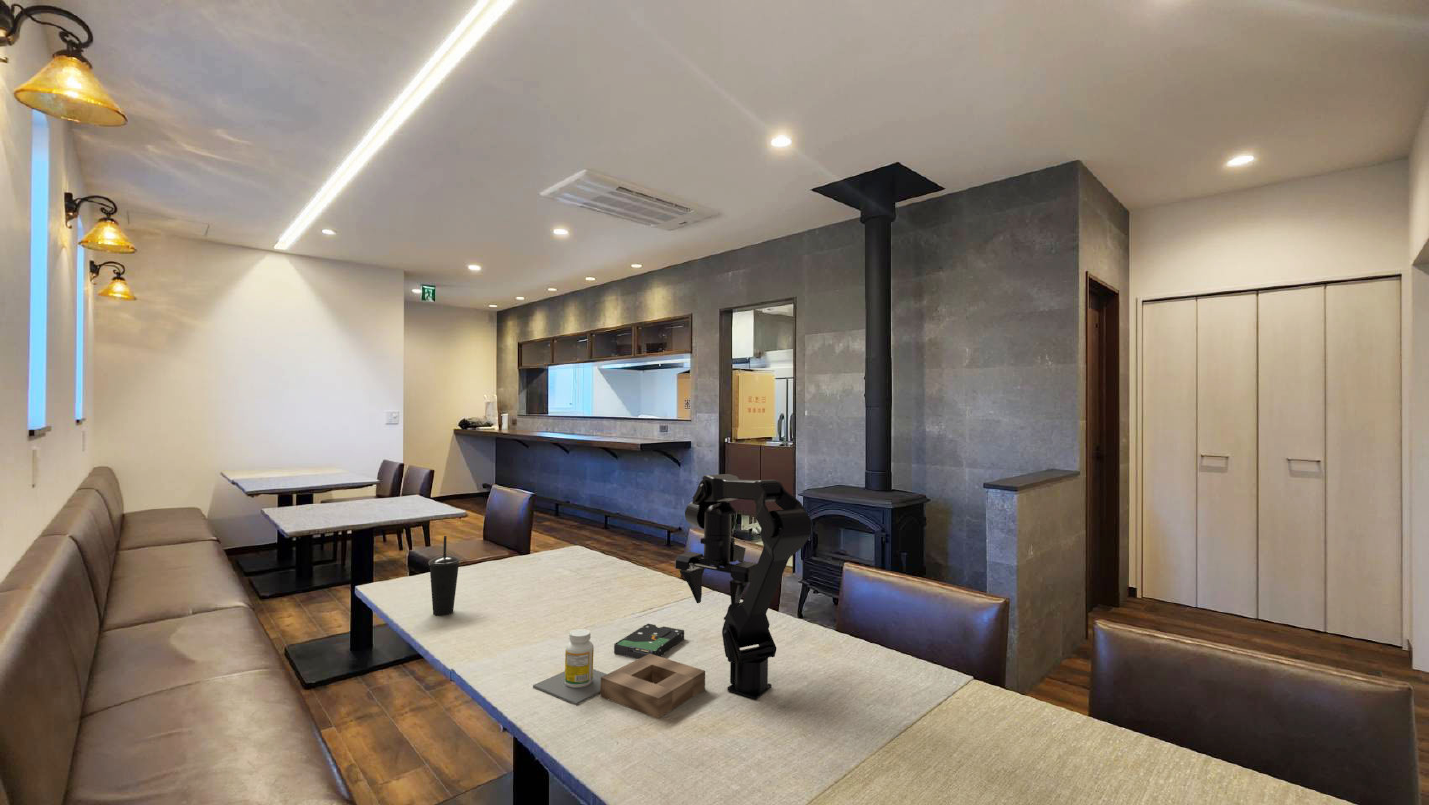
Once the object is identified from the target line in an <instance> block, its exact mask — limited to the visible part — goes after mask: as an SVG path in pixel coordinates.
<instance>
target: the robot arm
mask: <svg viewBox="0 0 1429 805" xmlns="http://www.w3.org/2000/svg"><path fill="white" fill-rule="evenodd" d="M701 479H702V480H701V481H699V484H698V487H697V489H696V492H695V493H694V494H693V496H692V501H691V502H689V504H688V505H686V508H685V511H684V518H685V520H686V522H687V523H688V524H690V525H691V526H694V527H696V528H700V529H703V530H704V532H703V536H704V537H702V538H700V544H703V553H699V552H694V551H693V552H692V551H687V552H685V553H681V554H678V555H677V556H676V558H675V561H674V568H675V569H676V570H679V574H681V575H682V576H683V578H684V579H685V581H686V583H687V585H688V587H689V589H690V591H691V593H692V596H693V598H694V599H695V602H696V603H697V604H701V602H702V595H703V594H702V593H703V592H702V589H703V588H702V586H703V574H704V572H705V570H706V569H707V570H712V571H717V572H721V573H722V572H723V573H728V574H730V577H731V580H729V591H730V593H729V594H730V604H729V605H728V607H727V612H726V614H725V616H724V617H723V620H724V622H723V626H722V629H721V634H722V635H721V636H722V641H723V647H724V648H723V649H724V654H725V655H724V656H725V657H726V658H727V662H729V663H730V665H729V666H730V668H729V669H730V670H729V672H730V673H729V680H730V681H729V684H730V685H729V686H727V689H726V690H727V691H729V692H731V693H733V694H737V695H741V696H743V697H747V698H750V699H753V700H757V699H759V698H760V697H761V696H763V695H764V694H765V693H767V692H768V691H769V690H770V689H772V686H773V685H772V684H771V683H768V682H769V679H768V678H769V658H775V656H776V653H777V646H776V644H775V641H774V638H773V637H772V634H771V632H770V630H769V628H770V622H769V619H768V615H767V612H768V610H769V607H770V606H771V603H772V600H773V598H774V595H775V593H776V590H777V589H778V585H779V583H780V581H781V578H782V576H783V574H784V571H785V570H786V566H787V564H788V562H789V561H790V558H791V557H792V556H794V555H795V554H796V553H798V552H799V551H800V550H801V549H802V548H804V546H805V544H806V543H807V541H808V540H809V538H810V537H811V535H812V532H813V531H812V530H813V522H812V520H811V518H810V516H809V513H807V511H806V509H805V507H804V505H803V504H802V503H801V502H800V500H798V499H797V498H795V496H793V495H792V494H791V493H789V492H788V491H787V490H786V489H785V488H784V486H783V484H782V482H780V481H779V480H777V479H760V480H758V479H757V480H755V479H739V477H738V476H737V475H733V474H730V473H727V474H725V473H723V474H704V475H703V476H702V478H701ZM735 500H746V501H747V500H749V501H750V500H751V501H754V503H755V505H756V508H755V520H756V521H757V523H758V525H759V527H760V531H759V532H760V533H759V535H760V538H761V542H762V545H763V547H762V548H763V549H762V550H761V554H760V556H759V558H758V562H757V563H756V562H751V561H745V560H744V559H745V554H746V550H747V549H746V547H744V546H741V545H739V544H736V542H735V540H736V539H735V537H734V536H732V515H736V512H737V511H736V510H735V508H734V507H733V506H732V505H731V503H730V501H731V502H732V501H735ZM767 502H775V504H776V505H777V506H778V507H779V508H781V509H777V510H776V509H775V510H774V509H773V510H769V508H768V507H767V506H766V503H767ZM737 561H738V563H735V562H737ZM733 563H735V564H733ZM747 586H748V587H747ZM746 588H747V589H746ZM745 590H746V592H745V595H744V591H745ZM743 595H744V597H743ZM742 597H743V599H742ZM741 600H742V601H741ZM756 645H758V646H756ZM751 646H755V647H751ZM746 647H749V648H746ZM743 648H744V649H743Z"/></svg>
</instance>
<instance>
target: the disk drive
mask: <svg viewBox="0 0 1429 805" xmlns="http://www.w3.org/2000/svg"><path fill="white" fill-rule="evenodd" d="M684 640H685V630H684V629H681V628H680V629H679V628H674V627H669V626H661V627H658V626H657V624H651V623H646V624H645V625H642V626H641V627H639V628H638V629H636V630H635V631H633V632H632V633H630V634H628V635H627V636H624V638H622V639H620V640H618V641H616V642H615V643H614V646H613V654H614V655H619V656H624V657H626V658H627V657H628V658H634V659H636V660H638V659H640V658H642V657H644V656H646V655H648V654H653V655H656V656H659V657H662V656H664V655H665V654H666V653H668V652H669V651H670V650H672V649H673V648H674V647H676V646H678V645H679V644H680V643H682V642H683V641H684Z"/></svg>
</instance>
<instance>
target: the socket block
mask: <svg viewBox="0 0 1429 805" xmlns="http://www.w3.org/2000/svg"><path fill="white" fill-rule="evenodd" d="M606 674H607V675H604V676H602V677H601V687H600V693H599V694H600V695H599V696H600V697H601V698H603V699H606V700H608V699H609V701H611V702H614V703H617V704H619V705H622V706H623V707H627V708H629V709H632V710H634V711H637V712H640V713H642V714H645V715H648V716H650V717H651V718H654V719H658V720H660V719H661V718H662V717H663V716H665V715H666V714H668V713H670V712H671V711H673V710H675V709H677V708H678V707H679V706H681V705H682V704H684V703H685V702H688V700H690V699H692V698H693V697H695V696H697V695H698V694H700V693H701V692H703V691H705V690H706V670H705V669H701V668H698V667H694V666H691V665H688V664H686V663H681V662H679V661H678V662H677V661H675V660H672V659H669V658H665V657H662V656H661V657H659V656H656V655H653V654H648V655H646V656H644V657H642V658H640V659H635V660H634V661H632V662H630V663H627V664H626V665H623V666H621V667H619V668H617V669H615V670H613V671H611V672H609V673H606Z"/></svg>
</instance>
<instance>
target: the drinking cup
mask: <svg viewBox="0 0 1429 805" xmlns="http://www.w3.org/2000/svg"><path fill="white" fill-rule="evenodd" d="M447 538H448V537H447V535H444V536H443V551H442V552H443V553H442V555H440V556H439V555H438V556H436V557H434V558H433V559H430V560H428V561H427V562H428V565H429V571H430V572H429V575H430V586H431V588H430V589H431V590H430V591H431V603H432V613H433V614H432V615H434V616H439V617H440V616H447V615H451V614H453V613H454V608H455V598H456V591H457V581H458V575H459V574H458V573H459V565H460V562H461V558H459V557H456V556H454V555H448V554H447Z"/></svg>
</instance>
